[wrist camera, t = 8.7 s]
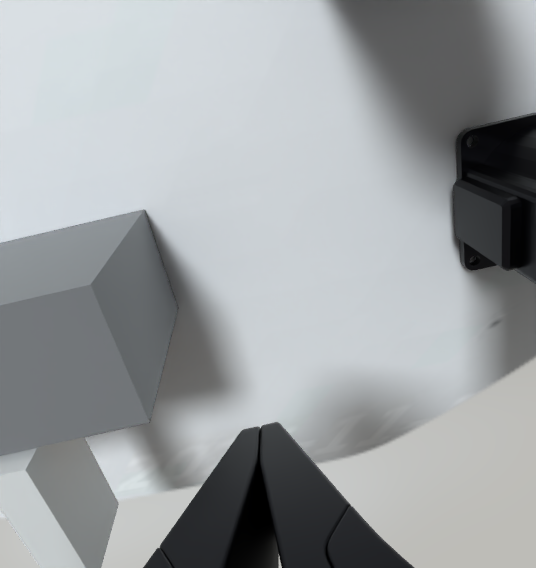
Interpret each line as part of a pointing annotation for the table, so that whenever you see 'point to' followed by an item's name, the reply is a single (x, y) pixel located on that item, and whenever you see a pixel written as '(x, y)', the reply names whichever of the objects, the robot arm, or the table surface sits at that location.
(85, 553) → the side door
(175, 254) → the table surface
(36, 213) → the table surface
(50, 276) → the block
